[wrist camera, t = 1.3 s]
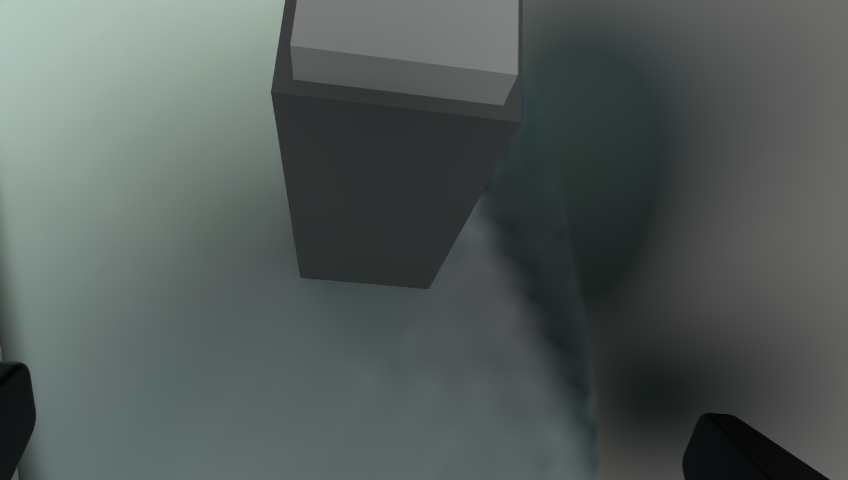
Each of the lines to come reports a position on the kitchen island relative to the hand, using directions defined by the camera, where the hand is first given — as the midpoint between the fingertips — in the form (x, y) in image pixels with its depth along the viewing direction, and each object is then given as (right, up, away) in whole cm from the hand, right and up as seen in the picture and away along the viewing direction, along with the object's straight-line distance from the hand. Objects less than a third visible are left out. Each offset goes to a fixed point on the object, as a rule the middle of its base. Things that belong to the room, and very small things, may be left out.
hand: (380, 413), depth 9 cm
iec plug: (-1, +3, +15) cm, 15 cm away
